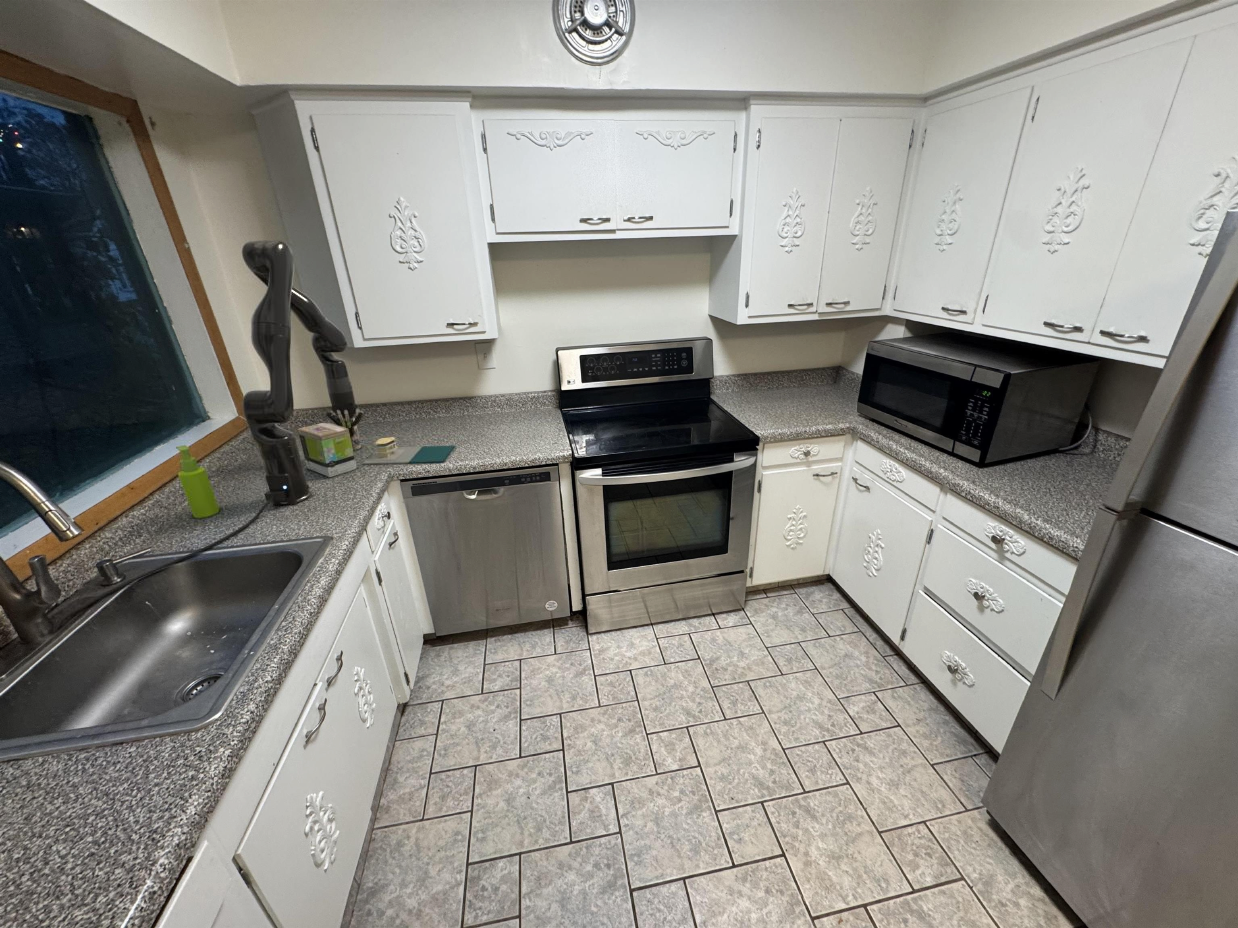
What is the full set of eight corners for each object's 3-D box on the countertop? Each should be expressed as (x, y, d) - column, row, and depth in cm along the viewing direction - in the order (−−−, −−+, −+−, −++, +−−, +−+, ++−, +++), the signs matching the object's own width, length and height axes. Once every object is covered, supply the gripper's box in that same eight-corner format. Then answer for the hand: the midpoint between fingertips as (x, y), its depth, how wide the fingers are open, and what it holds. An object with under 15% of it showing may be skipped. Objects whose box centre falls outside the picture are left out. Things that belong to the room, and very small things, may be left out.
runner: (443, 462, 178) (442, 461, 178) (362, 464, 177) (362, 463, 177) (454, 447, 193) (454, 445, 193) (380, 448, 192) (379, 447, 192)
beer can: (355, 451, 190) (349, 420, 185) (344, 450, 191) (337, 420, 186) (364, 446, 194) (357, 417, 190) (353, 446, 195) (346, 416, 190)
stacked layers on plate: (394, 459, 180) (392, 445, 178) (369, 459, 180) (366, 445, 178) (405, 449, 189) (403, 435, 187) (381, 449, 189) (378, 436, 187)
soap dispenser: (214, 505, 148) (192, 441, 141) (222, 512, 144) (199, 447, 137) (190, 512, 144) (165, 447, 137) (196, 520, 140) (172, 453, 133)
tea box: (358, 468, 174) (349, 427, 168) (329, 478, 166) (318, 436, 161) (335, 459, 182) (325, 420, 176) (306, 468, 174) (295, 428, 168)
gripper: (315, 393, 171) (327, 440, 178) (355, 392, 172) (365, 439, 178) (326, 387, 178) (337, 433, 185) (364, 386, 178) (373, 433, 185)
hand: (350, 436), depth 181 cm, fingers closed
